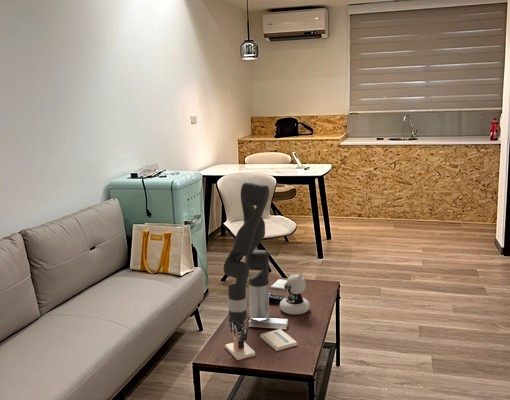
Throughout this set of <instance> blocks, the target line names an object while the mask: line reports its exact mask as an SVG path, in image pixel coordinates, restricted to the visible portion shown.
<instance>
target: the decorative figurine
mask: <svg viewBox="0 0 510 400" xmlns="http://www.w3.org/2000/svg"><path fill="white" fill-rule="evenodd" d="M287 274H288V278H287V279H286V280H287V282H286V283H285V284H286V285H285V284H284V288H285V290H287V291H288V295H287V297H285V298H283V299H282V300H281V301H280V303H279V307H280V311H282V312H283V313H285V314H288V315H294V316H295V315H303V314H305V313H307V312H308V311H309V310H310V306H311V305H310V301H309V300H308V299H306V298H304V297H303V296H302V293H303V292H304V291H305V289H306V280H305V278H304V277H303V276H302V275H303V273H300V274H297V273H296V274H292V273H290V272H289V271H287Z"/></svg>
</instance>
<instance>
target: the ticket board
mask: <svg viewBox="0 0 510 400" xmlns="http://www.w3.org/2000/svg"><path fill="white" fill-rule="evenodd" d="M259 334H260V333H259ZM260 338H261V339H262V340H263V341H264V342H266V344H267V345H269V346H270V347H271V348H272V349H274V351H276V352H277V351H280V350H284V349H289V348H292V347H295V346H297V345H298V342H297V341H296V340H295V339H294V338H292V337H291V335H289V334H288V333H286V332H285V331H284V330H283V329H281V328H279V329H275V330H272V331H267V332H264V333H261V334H260Z"/></svg>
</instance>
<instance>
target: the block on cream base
mask: <svg viewBox="0 0 510 400" xmlns="http://www.w3.org/2000/svg"><path fill="white" fill-rule="evenodd" d="M240 336H241V335H240ZM232 337H233V340H232V341H233V342H230V343H227V344H224V345H225V347H224V348H225V349H226V350H227V351H228V352H229V353H230V354H231V355H232V356H233V358H235V359H236V360H237V361H240V360H244V359H247V358H251V357H254V356H256V351H254V349H252V348H251V346H249V345H248V344H247V343H246V342H245V341H244V348H243V349H239V346H238V335H236V334H232Z"/></svg>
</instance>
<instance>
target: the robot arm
mask: <svg viewBox="0 0 510 400" xmlns="http://www.w3.org/2000/svg"><path fill="white" fill-rule="evenodd" d="M269 197H270V188H269V185H266V184H262V183H258V182H254V181H245V182H243V184H242V185H241V189H240V201H241V202H240V203H241V208H242V214H243V224H242V226H241V227H239V229H238V230H237V233H236V235H235V238H234V243H233V246H232V249H231V250H230V252H229V254H228V255H227V257H226V260H225V261H224V264H223V273H224V275H226V276H227V277H230V278H234V279H235V281H233V282H230V283H229V285H228V300H227V304H228V309H227V310H228V323H229V330H230V333H231V334H232V335H233V334H236V335H238V346H239V349H243V348H244V342H245V341H248V334H249V329H248V328H246V327H245V326H246V325H245V320H247V318H248V312H249V319H250V318H268V319H269V318H270V291H269V290H270V287H269V286H270V284H269V282H270V281H269V265H270V264H269V263H270V261H269V258H270V256H269V251H268V250H266V249H256V248H257V247H258V245H259V244H260V243H262V241H263V240H264V238H265V235H266V222H265V219H264V218H263V217H262V216H263V214H264V211H265V208H266V206H267V203H268V200H269ZM255 207H256V208H255ZM242 257H244V260H245V261H240V259H241V258H242ZM250 271H259V272H257V273H254V274H252V275H251V276H250V277H249V275H250ZM247 283H248V289H249V290H248V291H249V292H248V295H249V297H248V300H247V295H246V294H247V292H246V287H247ZM247 301H248V303H247ZM248 304H249V310H248ZM240 335H241V336H240Z"/></svg>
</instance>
